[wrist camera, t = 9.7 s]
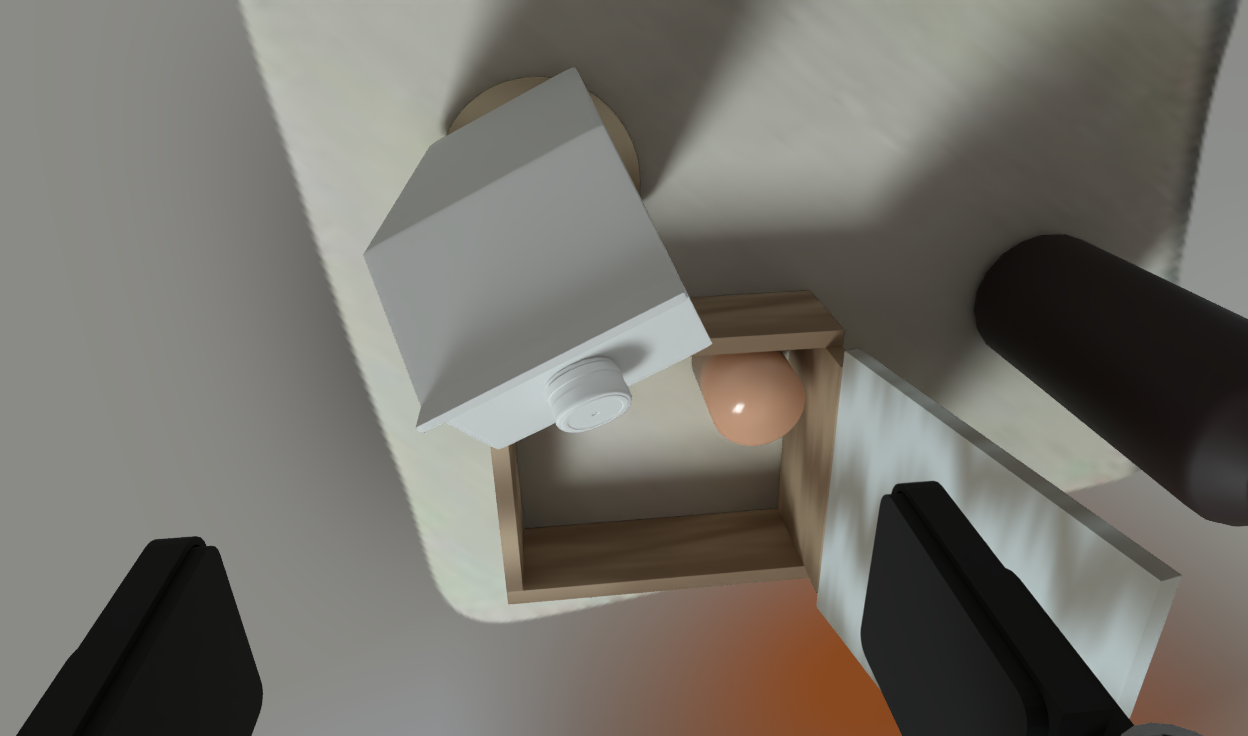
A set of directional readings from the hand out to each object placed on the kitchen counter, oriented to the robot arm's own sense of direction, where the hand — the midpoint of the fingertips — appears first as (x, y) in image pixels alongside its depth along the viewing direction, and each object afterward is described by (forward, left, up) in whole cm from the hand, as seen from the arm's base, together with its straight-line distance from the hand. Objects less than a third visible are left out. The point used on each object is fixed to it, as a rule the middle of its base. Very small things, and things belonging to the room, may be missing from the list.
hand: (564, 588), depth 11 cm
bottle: (+7, +25, -28) cm, 38 cm away
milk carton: (0, 0, -27) cm, 27 cm away
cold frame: (+13, +6, -27) cm, 31 cm away
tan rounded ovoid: (+10, +9, -27) cm, 31 cm away
